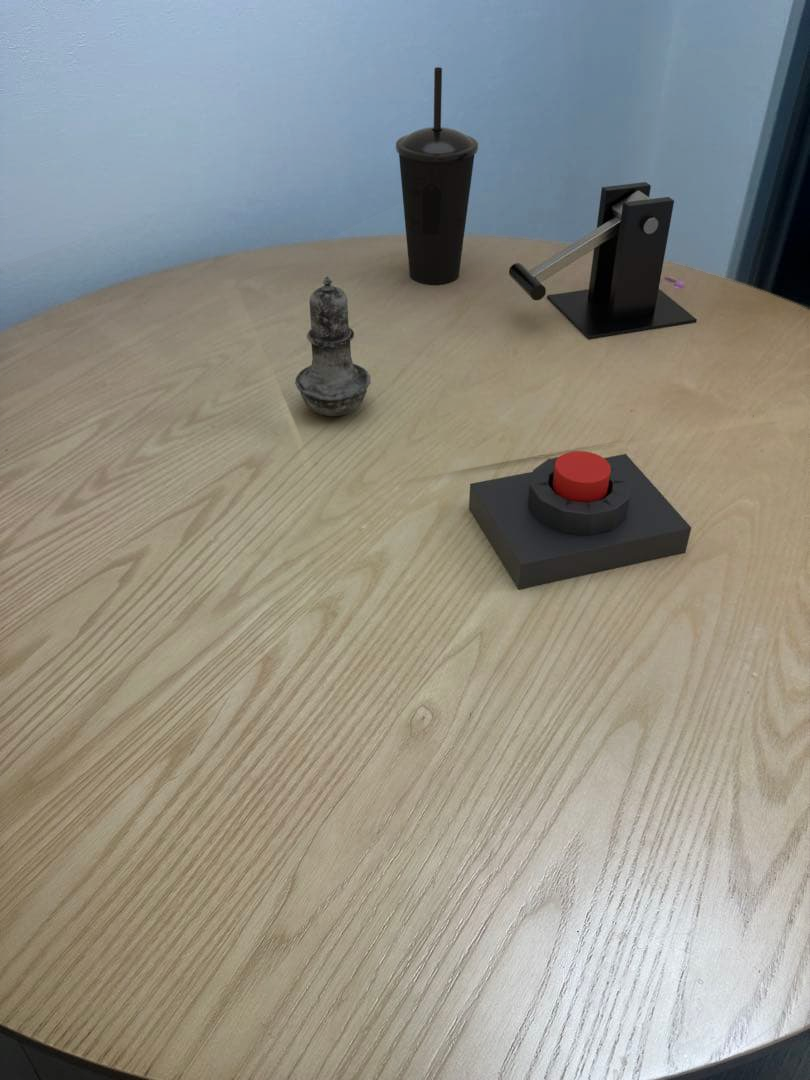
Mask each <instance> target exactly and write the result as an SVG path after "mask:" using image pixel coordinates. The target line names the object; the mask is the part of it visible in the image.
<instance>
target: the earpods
mask: <svg viewBox="0 0 810 1080" xmlns="http://www.w3.org/2000/svg"><path fill="white" fill-rule="evenodd" d="M664 279H665V280H667V281H669V282H674V283H675V284H674V288H675V289H679V288H680V289H681V288H684V287H685V283H684V282H683V281H682V280H677V281H676V280H675V279H674V278H671V277H669V276H664Z"/></svg>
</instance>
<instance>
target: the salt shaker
mask: <svg viewBox="0 0 810 1080" xmlns="http://www.w3.org/2000/svg"><path fill="white" fill-rule="evenodd" d="M332 283H333V281H332V279H331V278H330V277H329V276H327V275H326V277H325V278H324V279H323V281H322V284H323V285H322V286H320V287H319V288H317V289H315V290H314V291H313V292H312V293H311V295H310V296H309V311H310V312H309V313H310V315H309V316H310V328H311V329H309V330H308V331H307V333H306V339H307V341H308V342H310V344H311V358H312V360H311V364H310V365H309V366H306V367H304V368H303V369H302V370H301V371H299V372H298V374H297V375H296V377H295V381H294V384H295V387H296V389H297V390H298V391H299V393H300V396H301V398H302V400H303V402H304V403H305V405H306V406H307V407H308V408H309V409H310V410H311V411H313V412H314V413H317V414H318V415H322V416H327V417H342V416H346V415H348V414H350V413H352V412H354V411H355V410H356V409H357V408H358V407H360V405H362V403H363V401H364V399H365V397H366V395H367V391H368V388H369V386H370V384H371V375H370V374H369V372H368V371H367V369H365V368H364V367H363V366H361V365H359V364H356V363H353V359H352V351H351V350H352V349H351V348H352V347H351V341H352V340H353V339H354V337H355V332H354V330H353V329H352V328H351V327H350V326H349V305H348V297H347V294H346V292H345V291H344V290H343V289H341V288H339V287H337V286H333V285H331V284H332Z"/></svg>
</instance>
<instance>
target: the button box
mask: <svg viewBox="0 0 810 1080" xmlns="http://www.w3.org/2000/svg"><path fill="white" fill-rule="evenodd" d="M559 457H560V456H556V457H552V458H548V459H546V460H545V461H543V462H542V463H540V464H539V465H537V466H536V467H535V468H533V470H532V471H528V472H524V473H519V474H513V475H507V476H503V477H498V478H492V479H487V480H483V481H477V482H472V483H470V484H469V496H468V497H469V499H468V509H469V512H470V513H471V514H472V516H473V518H474V520H475V521H476V523H477V524H478V526H479V528H480V529H481V531H482V532H483V534H484V536H485V537H486V539H487V541H488V542H489V544H490V545H491V548H492V549H493V550H494V553H495V554H496V556H497V557H498V559H499V561H501V562H500V563H502V565H503V567H504V569H505V570H506V572H507V573H508V576H509V577H510V578H511V580H512V582H513V584H514V585H515V587H516V589H517V590H518V591H520V590H524V589H530V588H533V587H538V586H543V585H548V584H552V583H556V582H560V581H565V580H570V579H573V578H579V577H583V576H588V575H592V574H597V573H601V572H605V571H609V570H610V571H611V570H615V569H620V568H622V567H623V568H624V567H629V566H633V565H638V564H642V563H646V562H651V561H655V560H660V559H665V558H668V557H673V556H677V555H682V554H685V553H686V551H687V547H688V545H689V539H690V535H691V531H692V527H691V525H690V524H689V523H688V521H686V520H685V519H684V517H683V515H681V514H680V513H679V512H678V511H677V509H676V508H674V506H673V505H672V504H671V503H670V502H669V501H668V500H667V498H666V497H665V496H664V495H663V494H662V492H661V491H660V490H659V489H658V488H657V487H656V486H655V485H654V483H652V481H651V480H650V479H649V478H648V477H647V476H646V475H645V473H643V471H642V470H641V469H640V467H638V465H636V463H634V461H633V460H632V459H631V458H630V456H628V454H626V453H622V454H618V455H613V456H607V457H603V458H604V459H605V460H606V461H607V462H608V463H609V465H610V468H611V472H610V478H609V485H608V491H607V494H606V495H605V496H604V497H603V498H602V499H601V500H598V501H593V502H588V503H584V502H576V501H569V500H567V499H565V498H563V497H561V496H559V495H557V494H556V493H555V491H554V489H553V476H554V468H555V462H556V460H557V459H558V458H559Z"/></svg>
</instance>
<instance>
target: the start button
mask: <svg viewBox="0 0 810 1080" xmlns="http://www.w3.org/2000/svg"><path fill="white" fill-rule="evenodd" d="M558 457H559V458H558V459H557V460H556V462H555V468H554V476H553V489H554V491H555V493H556V494H557V495H559V496H561V497H563V498H565V499H567V500H569V501H576V502H584V503H588V502H593V501H598V500H601V499H602V498H603V497H604V496H605V495H606V494H607V491H608V485H609V478H610V472H611V468H610V465H609V463H608V462H607V461H606V460H605V459H604V458H605V457H603V456H601V455H599V454H596V453H595V452H591V451H585V450H576V451H575V450H574V451H567V452H565V453H563V454H561V455H560V456H558Z"/></svg>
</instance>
